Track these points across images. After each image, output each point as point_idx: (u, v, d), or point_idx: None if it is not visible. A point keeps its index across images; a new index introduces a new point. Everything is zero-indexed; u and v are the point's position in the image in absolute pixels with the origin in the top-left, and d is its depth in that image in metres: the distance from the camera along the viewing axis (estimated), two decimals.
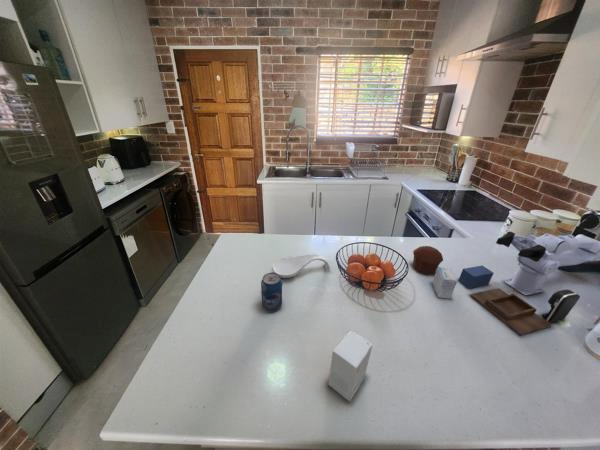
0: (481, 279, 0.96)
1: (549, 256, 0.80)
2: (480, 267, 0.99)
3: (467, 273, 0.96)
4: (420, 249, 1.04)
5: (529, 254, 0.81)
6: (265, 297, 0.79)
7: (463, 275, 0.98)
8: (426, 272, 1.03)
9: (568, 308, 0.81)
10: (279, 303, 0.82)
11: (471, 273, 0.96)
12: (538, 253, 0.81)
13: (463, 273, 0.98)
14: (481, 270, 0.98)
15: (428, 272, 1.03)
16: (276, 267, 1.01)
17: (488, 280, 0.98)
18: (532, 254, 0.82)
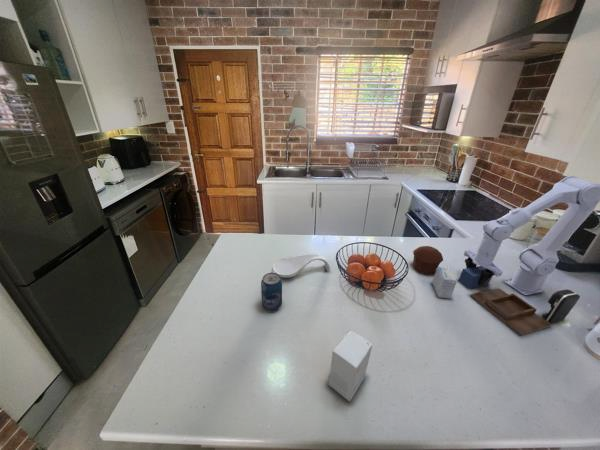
0: None
1: (499, 274, 0.89)
2: (480, 267, 0.99)
3: (467, 273, 0.96)
4: (420, 249, 1.04)
5: (486, 276, 0.95)
6: (265, 297, 0.79)
7: (463, 275, 0.98)
8: (426, 272, 1.03)
9: (568, 308, 0.81)
10: (279, 303, 0.82)
11: (471, 273, 0.96)
12: None
13: (463, 273, 0.98)
14: None
15: (428, 272, 1.03)
16: (276, 267, 1.01)
17: (488, 281, 0.98)
18: None
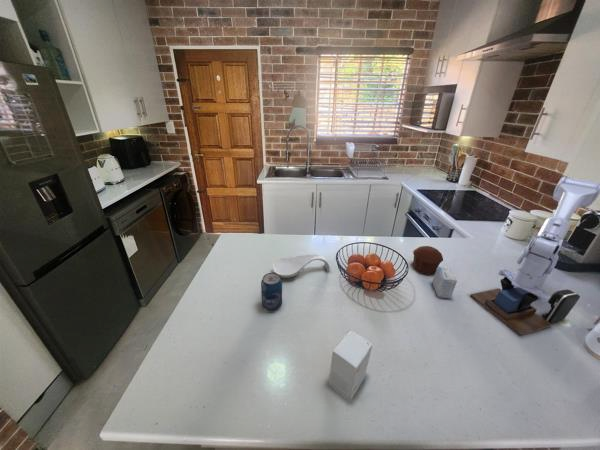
0: None
1: (546, 300, 0.75)
2: (518, 289, 0.85)
3: (505, 297, 0.82)
4: (420, 249, 1.04)
5: None
6: (265, 297, 0.79)
7: (499, 298, 0.84)
8: (426, 272, 1.03)
9: (568, 308, 0.81)
10: (279, 303, 0.82)
11: (510, 297, 0.82)
12: None
13: (499, 296, 0.84)
14: (521, 293, 0.84)
15: (428, 272, 1.03)
16: (276, 267, 1.01)
17: (528, 305, 0.84)
18: None
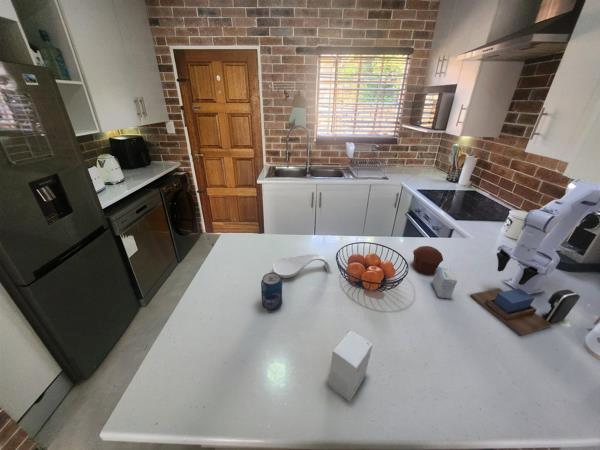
0: (519, 305, 0.82)
1: (543, 270, 0.79)
2: (517, 291, 0.86)
3: (503, 298, 0.83)
4: (420, 249, 1.04)
5: (529, 275, 0.83)
6: (265, 297, 0.79)
7: (498, 300, 0.85)
8: (426, 272, 1.03)
9: (568, 308, 0.81)
10: (279, 303, 0.82)
11: (508, 299, 0.82)
12: None
13: (498, 298, 0.85)
14: (520, 295, 0.84)
15: (428, 272, 1.03)
16: (276, 267, 1.01)
17: (527, 307, 0.84)
18: None
